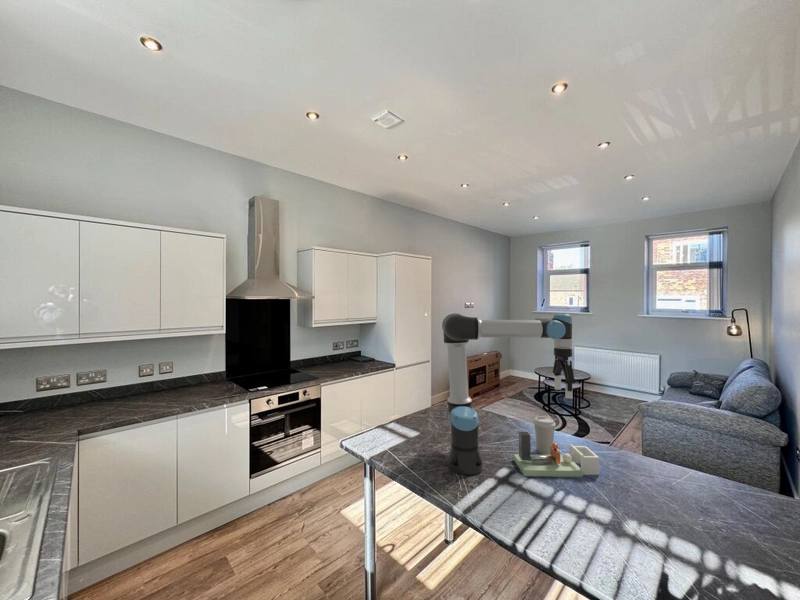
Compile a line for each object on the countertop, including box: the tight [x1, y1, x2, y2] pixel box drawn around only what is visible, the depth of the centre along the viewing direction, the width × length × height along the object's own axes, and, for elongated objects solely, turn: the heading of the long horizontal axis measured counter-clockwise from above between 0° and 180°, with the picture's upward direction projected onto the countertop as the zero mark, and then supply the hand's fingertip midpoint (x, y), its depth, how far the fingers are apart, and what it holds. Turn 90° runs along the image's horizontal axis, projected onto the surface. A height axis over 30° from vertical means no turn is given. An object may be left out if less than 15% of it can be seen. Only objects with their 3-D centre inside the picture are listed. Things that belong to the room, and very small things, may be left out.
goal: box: [569, 443, 600, 476], centre depth 131 cm, size 7×10×8 cm
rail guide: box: [532, 461, 552, 464], centre depth 132 cm, size 8×4×1 cm, turn 87°
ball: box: [562, 452, 572, 463], centre depth 131 cm, size 4×4×4 cm
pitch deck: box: [513, 453, 584, 478], centre depth 132 cm, size 23×13×2 cm, turn 87°
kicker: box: [518, 431, 561, 464], centre depth 132 cm, size 16×6×11 cm, turn 87°
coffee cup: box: [532, 415, 557, 455], centre depth 146 cm, size 10×10×15 cm
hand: (563, 393), depth 144 cm, fingers open, 13 cm apart
